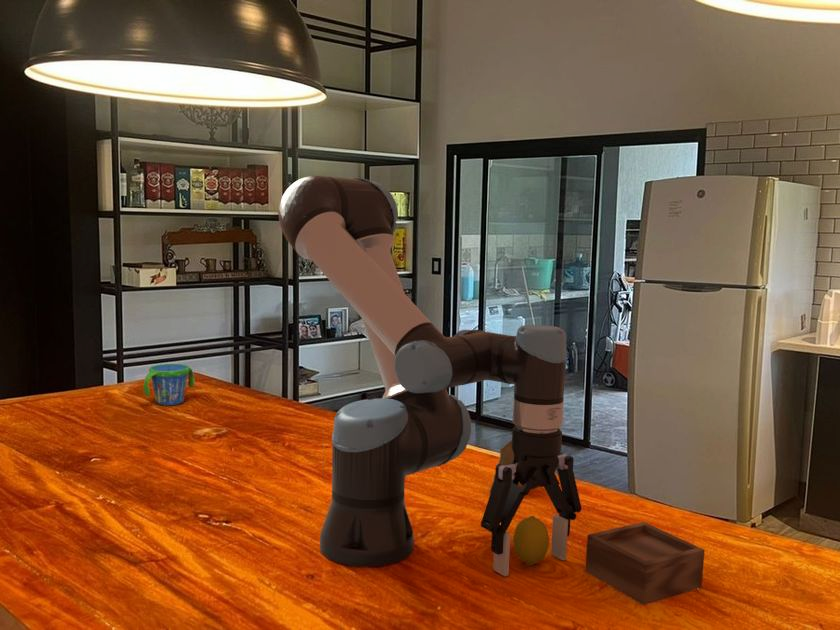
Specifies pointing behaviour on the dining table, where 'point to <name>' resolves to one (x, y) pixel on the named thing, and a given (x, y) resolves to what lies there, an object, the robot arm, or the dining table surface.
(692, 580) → the walnut block
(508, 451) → the rock
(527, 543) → the lemon
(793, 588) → the dining table surface
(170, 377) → the snack cup
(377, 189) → the robot arm
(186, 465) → the dining table surface
